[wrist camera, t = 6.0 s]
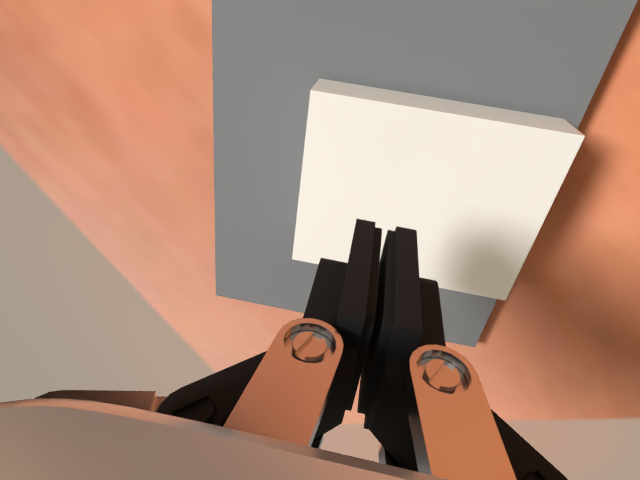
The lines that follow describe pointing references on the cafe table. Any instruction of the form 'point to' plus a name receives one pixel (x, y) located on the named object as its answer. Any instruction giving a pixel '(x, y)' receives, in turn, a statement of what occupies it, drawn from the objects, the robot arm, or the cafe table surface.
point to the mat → (380, 72)
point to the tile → (430, 180)
